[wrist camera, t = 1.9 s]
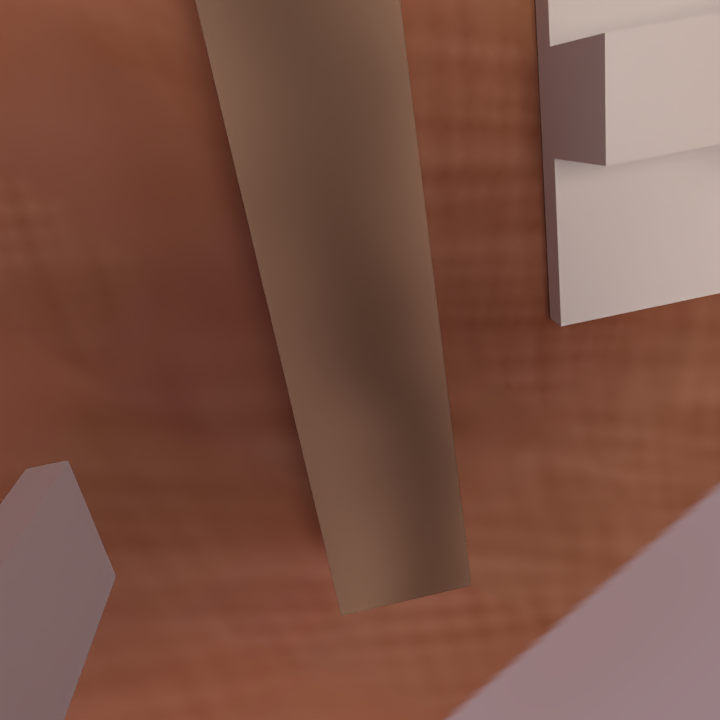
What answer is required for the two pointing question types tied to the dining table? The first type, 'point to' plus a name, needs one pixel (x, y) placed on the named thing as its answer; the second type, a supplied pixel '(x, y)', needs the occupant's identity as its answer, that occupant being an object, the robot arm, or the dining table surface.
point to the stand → (629, 153)
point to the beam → (347, 280)
